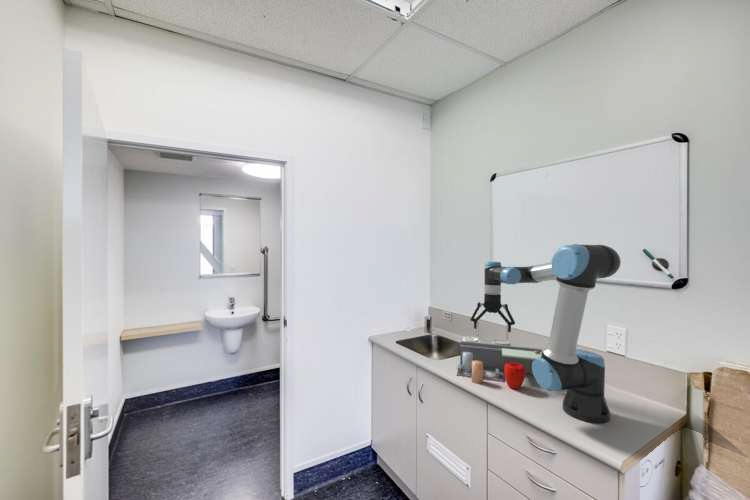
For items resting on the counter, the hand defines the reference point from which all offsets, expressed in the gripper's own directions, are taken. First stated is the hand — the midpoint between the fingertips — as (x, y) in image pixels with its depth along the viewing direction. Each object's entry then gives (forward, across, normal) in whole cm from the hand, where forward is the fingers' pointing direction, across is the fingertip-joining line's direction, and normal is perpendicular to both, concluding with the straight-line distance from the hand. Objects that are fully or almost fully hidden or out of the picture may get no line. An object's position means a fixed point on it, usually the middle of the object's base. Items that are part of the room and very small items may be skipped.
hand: (492, 337), depth 158 cm
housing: (+19, -3, -4) cm, 20 cm away
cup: (+20, +12, -29) cm, 37 cm away
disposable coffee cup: (+20, -4, -21) cm, 29 cm away
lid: (+8, -13, -4) cm, 16 cm away
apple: (+19, -10, +9) cm, 24 cm away
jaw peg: (+19, +6, +9) cm, 22 cm away
